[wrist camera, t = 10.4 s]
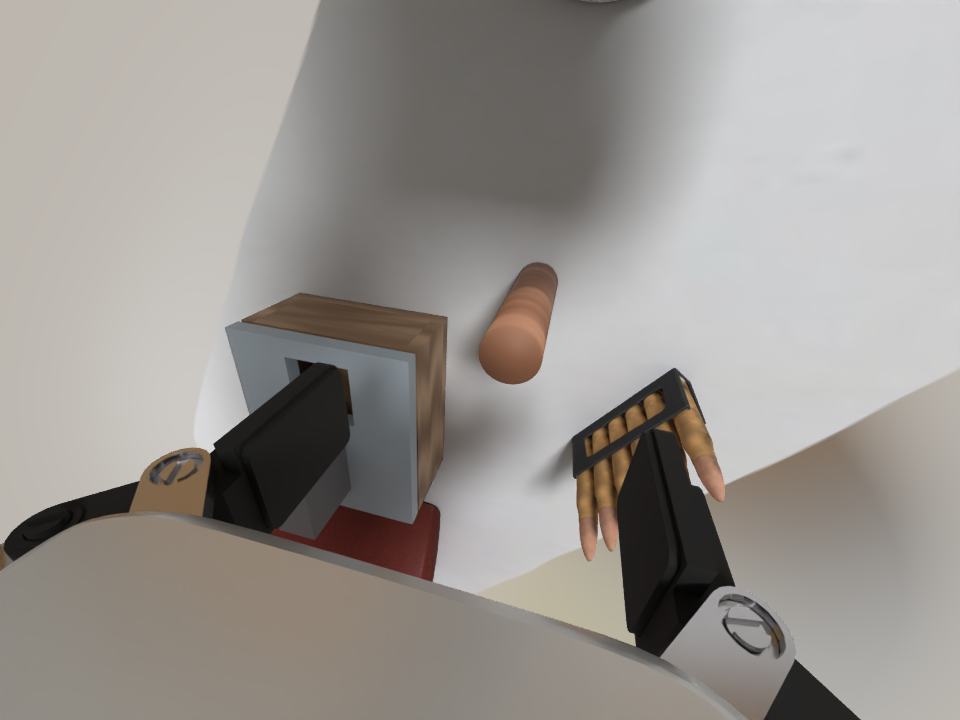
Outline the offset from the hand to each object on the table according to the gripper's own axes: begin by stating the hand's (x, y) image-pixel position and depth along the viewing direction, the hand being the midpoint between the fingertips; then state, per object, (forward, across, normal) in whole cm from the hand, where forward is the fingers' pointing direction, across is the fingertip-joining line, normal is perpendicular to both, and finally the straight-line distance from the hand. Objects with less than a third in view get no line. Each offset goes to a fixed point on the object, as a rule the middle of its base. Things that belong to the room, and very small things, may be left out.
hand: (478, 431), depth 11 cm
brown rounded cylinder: (+19, 0, +1) cm, 19 cm away
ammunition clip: (+19, -9, +11) cm, 24 cm away
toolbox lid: (+12, +14, +13) cm, 22 cm away
